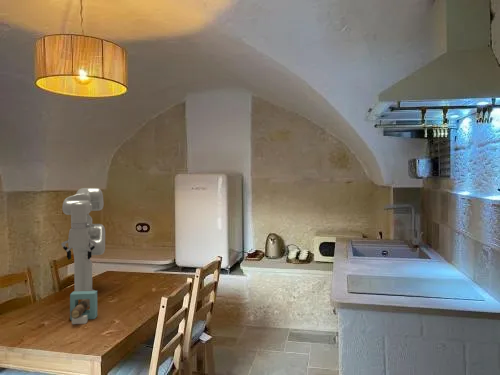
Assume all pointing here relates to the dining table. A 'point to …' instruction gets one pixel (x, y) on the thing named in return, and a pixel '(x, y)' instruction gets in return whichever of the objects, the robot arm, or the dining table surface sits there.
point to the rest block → (80, 320)
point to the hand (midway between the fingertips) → (79, 258)
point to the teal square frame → (84, 295)
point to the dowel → (80, 308)
